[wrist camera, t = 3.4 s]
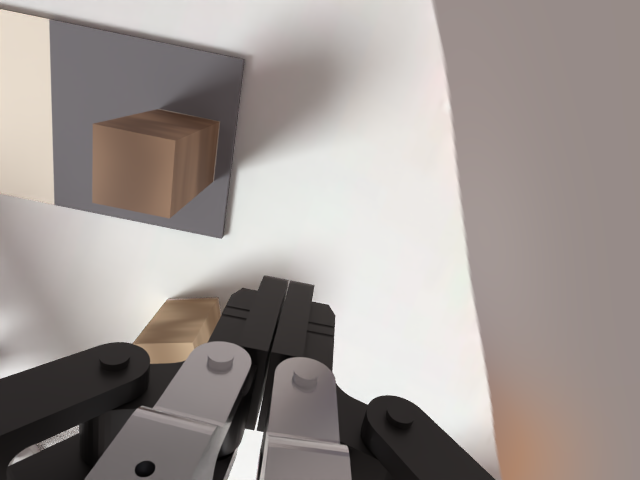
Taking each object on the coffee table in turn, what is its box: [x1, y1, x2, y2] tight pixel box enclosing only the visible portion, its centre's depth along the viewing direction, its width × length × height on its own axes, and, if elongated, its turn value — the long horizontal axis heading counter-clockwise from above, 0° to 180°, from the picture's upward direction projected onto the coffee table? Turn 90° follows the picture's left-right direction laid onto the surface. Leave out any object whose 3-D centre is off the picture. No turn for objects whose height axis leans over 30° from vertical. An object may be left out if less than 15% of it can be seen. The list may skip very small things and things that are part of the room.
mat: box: [0, 9, 244, 239], centre depth 30 cm, size 18×12×1 cm, turn 79°
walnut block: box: [92, 109, 220, 218], centre depth 26 cm, size 4×4×8 cm
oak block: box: [133, 297, 222, 364], centre depth 32 cm, size 4×4×6 cm
